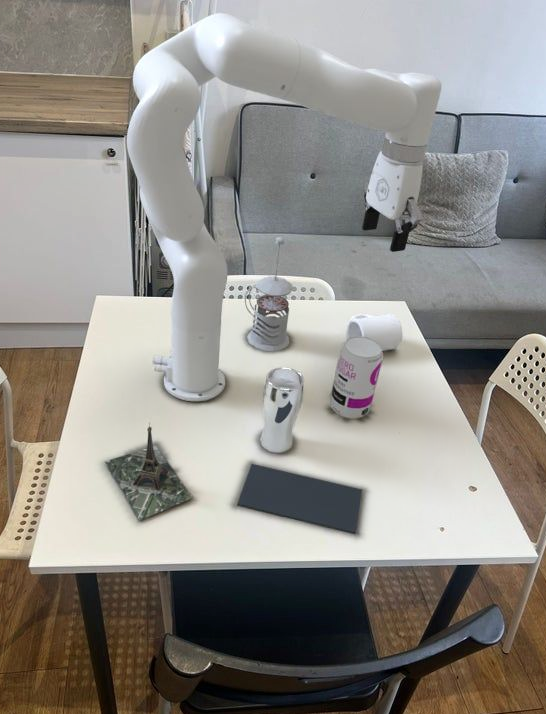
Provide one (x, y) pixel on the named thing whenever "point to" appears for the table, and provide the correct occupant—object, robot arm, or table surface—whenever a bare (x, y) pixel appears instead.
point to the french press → (270, 328)
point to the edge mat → (301, 498)
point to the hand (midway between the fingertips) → (382, 239)
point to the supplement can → (356, 377)
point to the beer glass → (281, 408)
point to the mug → (377, 329)
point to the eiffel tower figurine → (148, 480)
